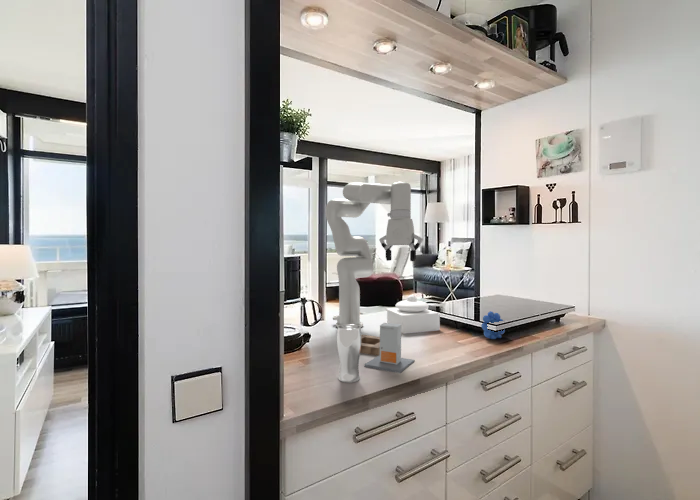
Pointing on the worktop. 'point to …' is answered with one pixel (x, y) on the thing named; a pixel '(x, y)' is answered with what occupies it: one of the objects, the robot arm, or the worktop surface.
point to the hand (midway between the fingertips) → (400, 260)
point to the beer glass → (349, 352)
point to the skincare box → (390, 343)
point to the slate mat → (389, 365)
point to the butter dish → (413, 316)
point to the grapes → (491, 318)
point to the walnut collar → (370, 345)
